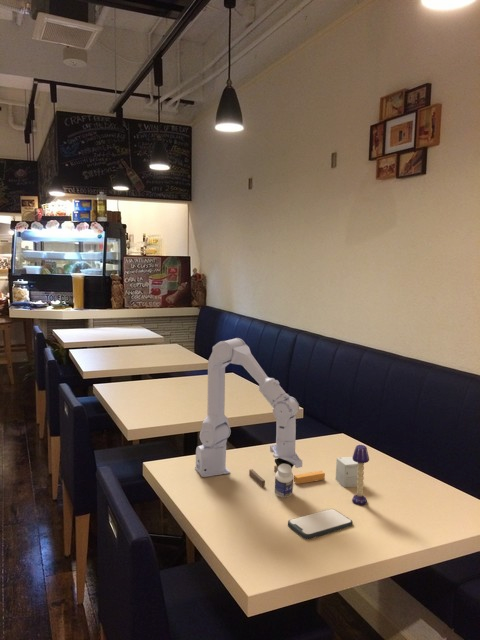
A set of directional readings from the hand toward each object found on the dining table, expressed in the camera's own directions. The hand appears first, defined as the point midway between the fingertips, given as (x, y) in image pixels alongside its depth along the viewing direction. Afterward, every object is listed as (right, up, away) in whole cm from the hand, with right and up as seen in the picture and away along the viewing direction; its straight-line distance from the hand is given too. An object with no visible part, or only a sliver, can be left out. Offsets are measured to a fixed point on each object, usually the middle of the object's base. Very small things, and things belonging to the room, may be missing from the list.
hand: (285, 482), depth 154 cm
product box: (+20, -2, +6) cm, 21 cm away
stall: (-4, -1, +8) cm, 9 cm away
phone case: (+7, -6, -20) cm, 22 cm away
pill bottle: (-1, -2, -2) cm, 3 cm away
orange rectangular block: (+8, -2, +7) cm, 11 cm away
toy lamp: (+21, -4, -6) cm, 22 cm away
